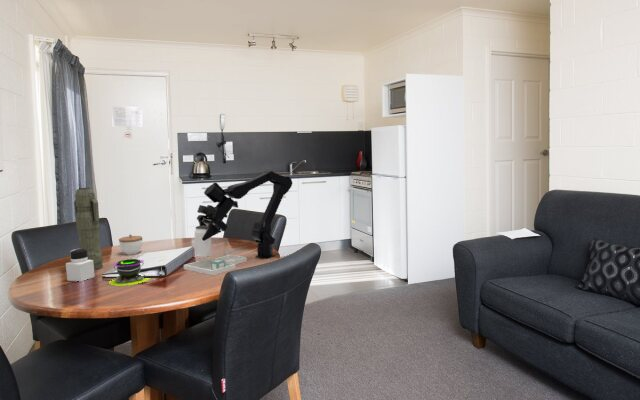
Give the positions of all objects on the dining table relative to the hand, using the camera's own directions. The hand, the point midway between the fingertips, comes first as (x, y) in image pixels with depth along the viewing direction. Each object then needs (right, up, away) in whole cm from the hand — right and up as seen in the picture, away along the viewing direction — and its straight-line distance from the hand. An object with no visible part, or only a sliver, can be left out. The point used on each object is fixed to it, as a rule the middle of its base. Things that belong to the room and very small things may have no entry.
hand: (199, 239), depth 195 cm
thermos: (-49, -14, +9) cm, 52 cm away
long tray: (+4, -13, 0) cm, 13 cm away
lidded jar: (-43, -10, +37) cm, 58 cm away
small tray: (+11, -11, +10) cm, 19 cm away
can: (+1, -7, +2) cm, 8 cm away
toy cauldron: (-24, -15, -11) cm, 31 cm away
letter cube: (+9, -13, -3) cm, 15 cm away
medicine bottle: (-45, -16, -7) cm, 49 cm away
